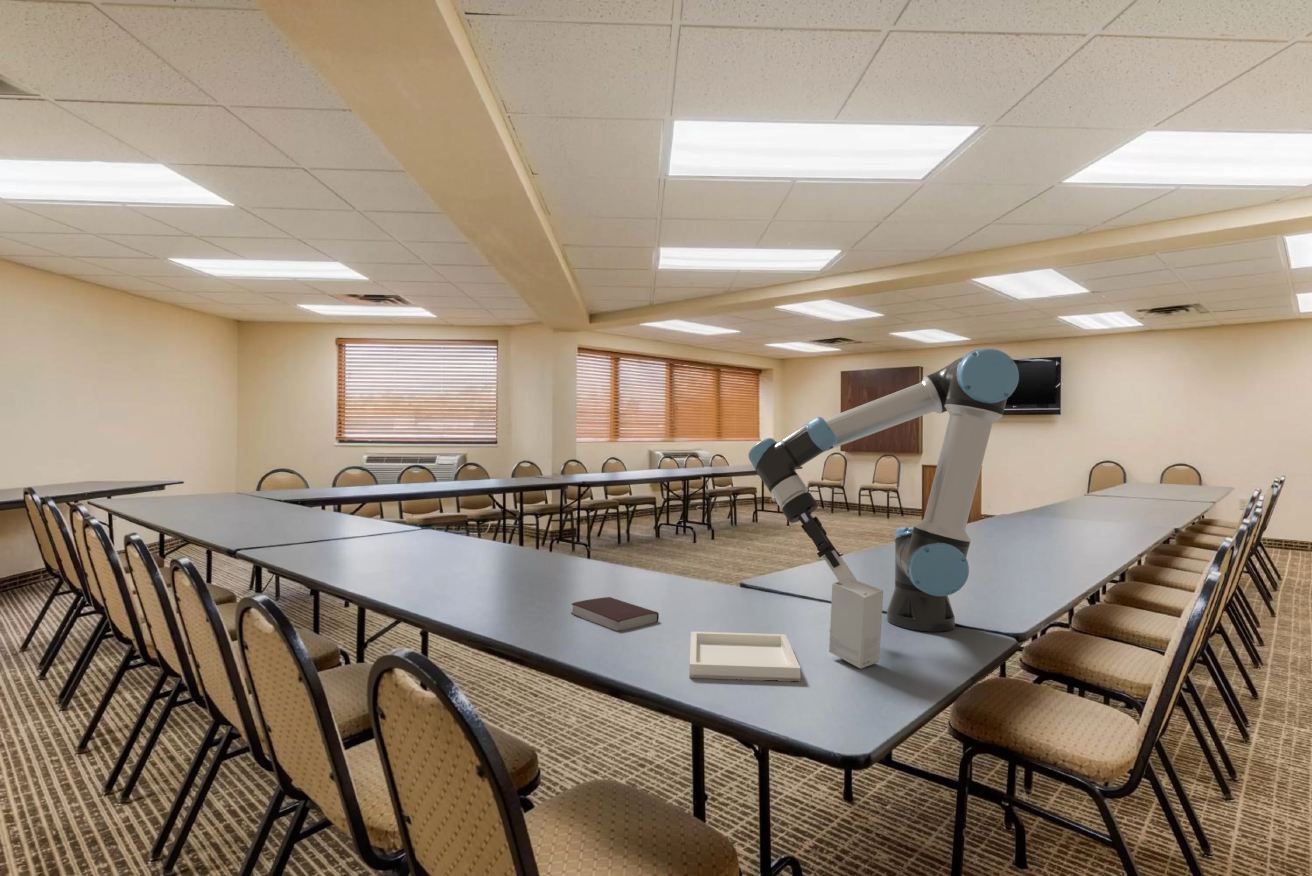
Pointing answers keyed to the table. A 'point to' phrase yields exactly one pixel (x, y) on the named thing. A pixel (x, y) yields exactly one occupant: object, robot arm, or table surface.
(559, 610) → the table surface
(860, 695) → the table surface
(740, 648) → the tray
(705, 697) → the table surface
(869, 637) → the skincare box
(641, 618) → the book
